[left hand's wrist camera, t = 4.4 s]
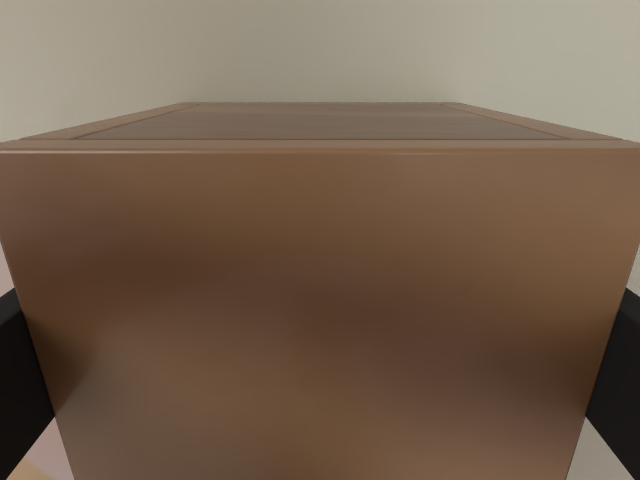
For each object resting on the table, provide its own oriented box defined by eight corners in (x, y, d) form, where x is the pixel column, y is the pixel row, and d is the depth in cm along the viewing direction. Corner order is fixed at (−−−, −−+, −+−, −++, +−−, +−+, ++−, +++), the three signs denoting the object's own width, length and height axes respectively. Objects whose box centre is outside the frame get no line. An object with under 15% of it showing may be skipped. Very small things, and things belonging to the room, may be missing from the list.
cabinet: (414, 478, 25) (480, 758, 15) (225, 478, 25) (159, 758, 15) (459, 102, 17) (671, 148, 7) (180, 102, 17) (-32, 148, 7)
